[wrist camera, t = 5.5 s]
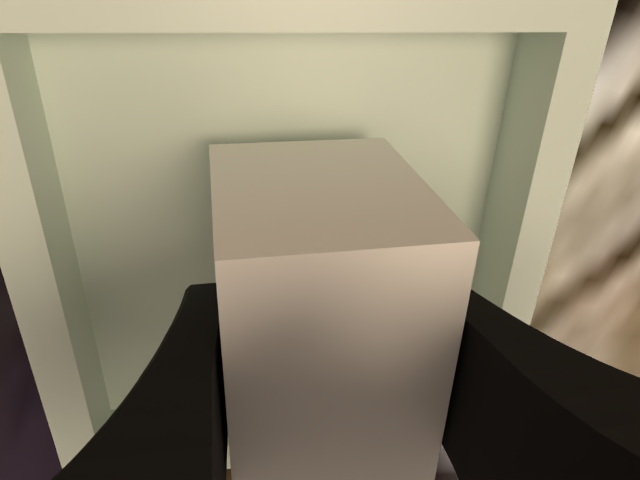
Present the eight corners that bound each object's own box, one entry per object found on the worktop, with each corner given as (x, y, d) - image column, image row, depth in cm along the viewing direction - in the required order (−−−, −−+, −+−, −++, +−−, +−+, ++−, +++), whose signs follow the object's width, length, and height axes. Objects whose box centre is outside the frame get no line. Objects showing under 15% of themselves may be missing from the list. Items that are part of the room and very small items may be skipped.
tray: (554, -28, 13) (623, -20, 11) (468, 375, 20) (501, 429, 17) (-34, -40, 11) (-92, -33, 9) (85, 422, 17) (69, 491, 15)
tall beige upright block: (384, 137, 13) (480, 240, 8) (363, 386, 16) (421, 545, 12) (208, 144, 12) (214, 261, 8) (228, 402, 16) (239, 579, 11)
